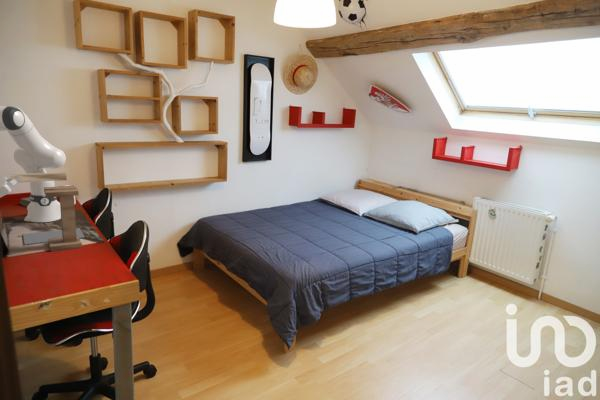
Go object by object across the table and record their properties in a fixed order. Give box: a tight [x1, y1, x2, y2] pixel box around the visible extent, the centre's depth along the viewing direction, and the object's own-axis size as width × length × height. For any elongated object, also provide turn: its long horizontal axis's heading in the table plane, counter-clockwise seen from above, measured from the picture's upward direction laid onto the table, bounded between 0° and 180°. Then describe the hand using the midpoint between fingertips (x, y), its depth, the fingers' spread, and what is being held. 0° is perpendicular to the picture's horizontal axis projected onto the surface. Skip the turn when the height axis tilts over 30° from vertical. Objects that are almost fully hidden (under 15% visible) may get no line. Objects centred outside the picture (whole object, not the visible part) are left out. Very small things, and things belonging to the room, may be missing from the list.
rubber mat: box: [22, 227, 85, 246], centre depth 196 cm, size 16×24×1 cm, turn 125°
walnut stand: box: [44, 185, 83, 252], centre depth 183 cm, size 12×12×26 cm
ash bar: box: [9, 171, 68, 184], centre depth 174 cm, size 3×20×3 cm, turn 125°
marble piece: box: [19, 196, 31, 208], centre depth 248 cm, size 17×15×4 cm
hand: (19, 177), depth 170 cm, fingers closed on ash bar, 3 cm apart
